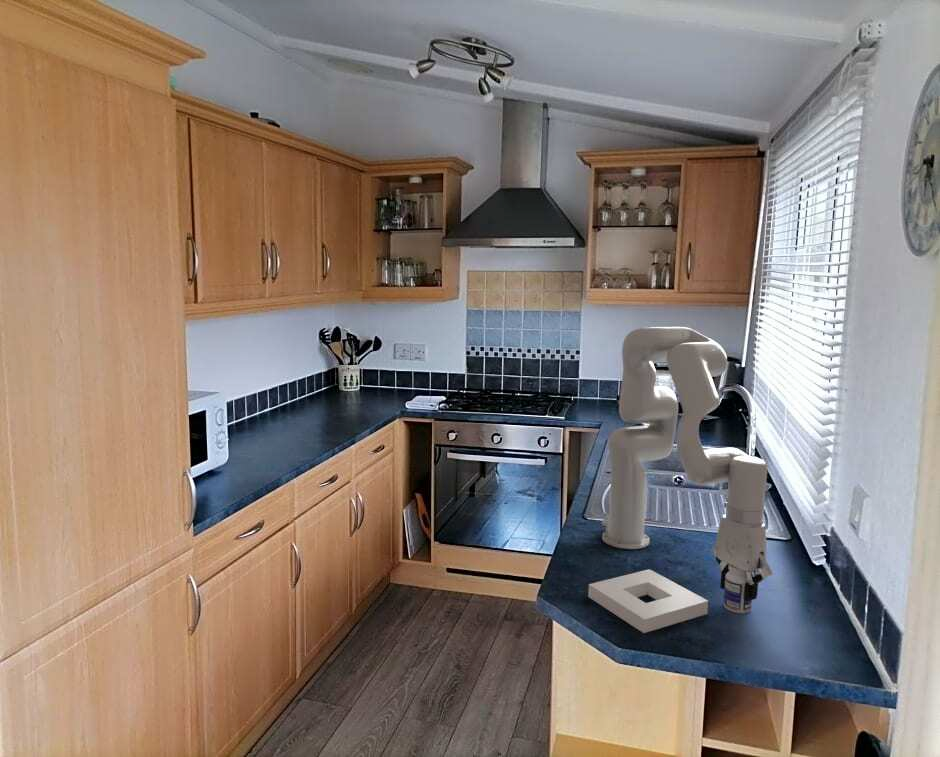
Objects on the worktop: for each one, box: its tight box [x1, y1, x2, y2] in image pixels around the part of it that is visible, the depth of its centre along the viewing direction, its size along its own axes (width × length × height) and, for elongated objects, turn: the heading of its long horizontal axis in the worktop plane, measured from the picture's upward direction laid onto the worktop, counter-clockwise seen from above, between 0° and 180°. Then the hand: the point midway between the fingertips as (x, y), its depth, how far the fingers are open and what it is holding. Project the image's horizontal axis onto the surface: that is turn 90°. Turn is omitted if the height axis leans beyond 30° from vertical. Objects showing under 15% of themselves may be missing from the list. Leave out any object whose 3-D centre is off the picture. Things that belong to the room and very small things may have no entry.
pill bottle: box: [723, 564, 753, 614], centre depth 154 cm, size 6×6×10 cm
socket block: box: [587, 569, 709, 634], centre depth 155 cm, size 18×18×3 cm
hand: (738, 592), depth 155 cm, fingers closed on pill bottle, 5 cm apart
